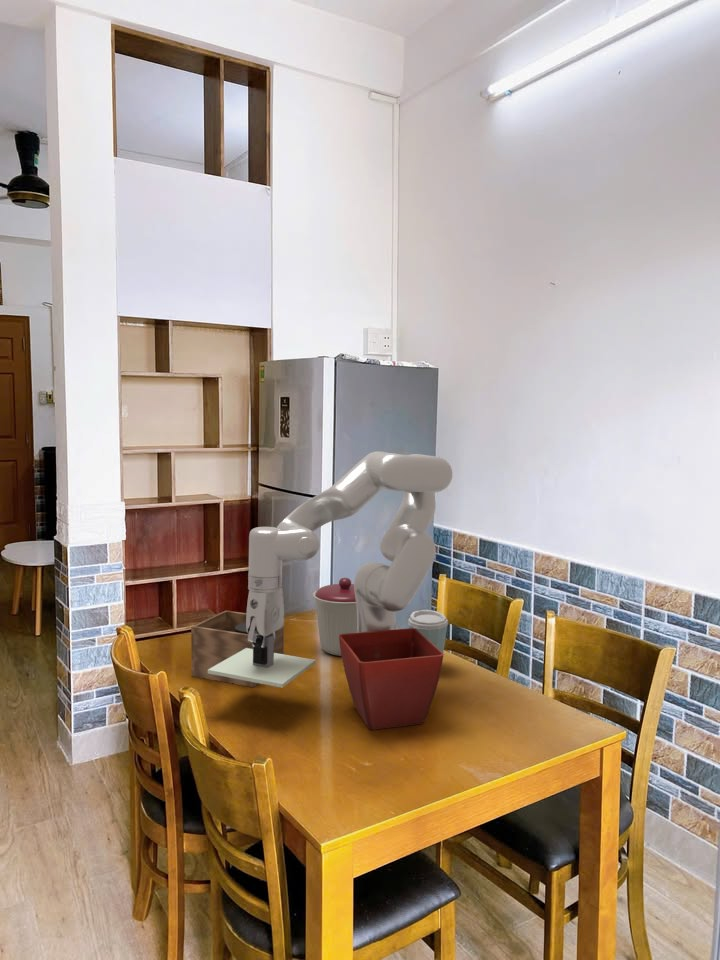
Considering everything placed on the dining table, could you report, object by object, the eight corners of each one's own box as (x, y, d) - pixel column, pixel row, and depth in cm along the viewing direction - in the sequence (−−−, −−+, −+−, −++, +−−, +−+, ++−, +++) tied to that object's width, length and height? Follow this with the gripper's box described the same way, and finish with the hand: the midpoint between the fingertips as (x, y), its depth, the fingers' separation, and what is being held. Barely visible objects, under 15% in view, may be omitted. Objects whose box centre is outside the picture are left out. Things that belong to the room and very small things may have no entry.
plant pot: (358, 739, 152) (359, 661, 150) (336, 703, 170) (337, 633, 168) (443, 729, 157) (445, 654, 155) (413, 695, 175) (415, 627, 173)
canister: (379, 642, 214) (380, 572, 211) (371, 663, 196) (372, 587, 194) (319, 638, 216) (320, 569, 214) (306, 659, 198) (306, 584, 196)
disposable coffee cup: (455, 673, 189) (456, 617, 188) (419, 679, 185) (420, 622, 183) (433, 660, 199) (435, 607, 197) (399, 666, 194) (400, 611, 193)
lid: (315, 663, 169) (316, 630, 168) (282, 687, 153) (282, 652, 153) (246, 651, 176) (246, 619, 175) (207, 673, 160) (208, 639, 160)
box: (283, 665, 193) (283, 618, 192) (253, 687, 178) (253, 636, 177) (225, 656, 200) (225, 610, 198) (191, 676, 185) (191, 626, 184)
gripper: (262, 592, 154) (260, 675, 156) (296, 576, 169) (294, 653, 170) (231, 587, 157) (230, 670, 158) (267, 573, 171) (266, 648, 173)
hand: (263, 660), depth 164 cm, fingers closed on lid, 2 cm apart
